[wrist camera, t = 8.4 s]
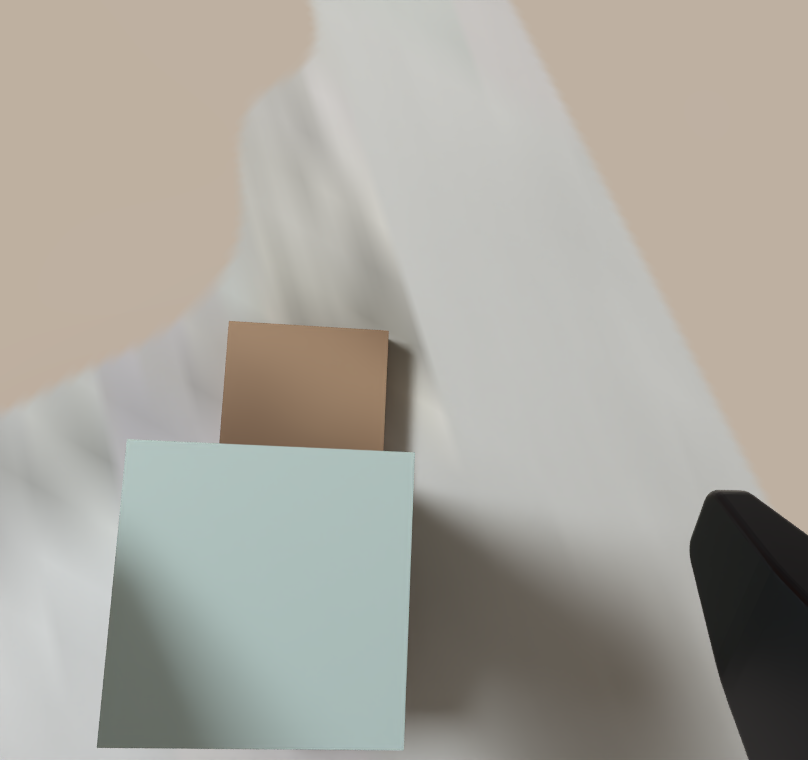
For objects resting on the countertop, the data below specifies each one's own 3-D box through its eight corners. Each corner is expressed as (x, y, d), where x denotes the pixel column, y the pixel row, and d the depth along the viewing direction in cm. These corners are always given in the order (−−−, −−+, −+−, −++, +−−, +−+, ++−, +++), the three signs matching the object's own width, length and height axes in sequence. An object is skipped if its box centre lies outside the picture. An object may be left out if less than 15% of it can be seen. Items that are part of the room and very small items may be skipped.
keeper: (365, 621, 20) (404, 750, 10) (216, 617, 20) (96, 748, 10) (372, 473, 21) (415, 452, 11) (227, 467, 21) (126, 439, 10)
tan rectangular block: (370, 688, 21) (378, 725, 18) (205, 685, 21) (181, 723, 17) (386, 338, 23) (396, 310, 19) (233, 329, 22) (216, 298, 19)
